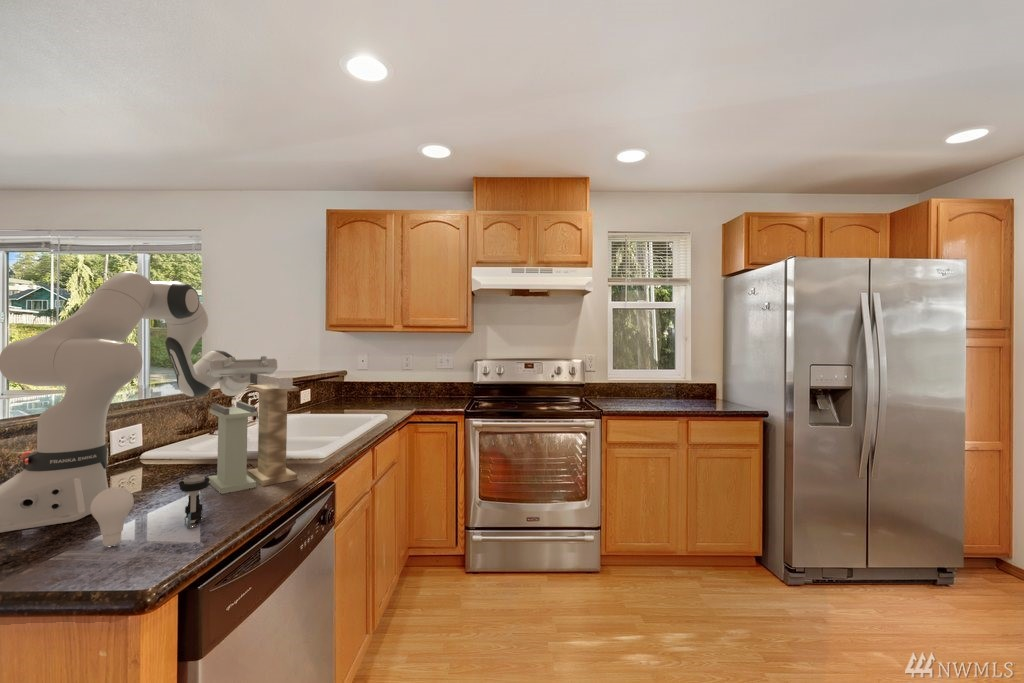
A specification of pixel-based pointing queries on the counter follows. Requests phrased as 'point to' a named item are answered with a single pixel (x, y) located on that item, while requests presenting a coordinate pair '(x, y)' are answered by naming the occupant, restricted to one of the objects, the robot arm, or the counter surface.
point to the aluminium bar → (271, 380)
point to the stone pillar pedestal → (272, 437)
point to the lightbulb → (112, 512)
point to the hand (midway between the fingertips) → (248, 358)
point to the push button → (193, 497)
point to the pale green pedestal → (232, 448)
